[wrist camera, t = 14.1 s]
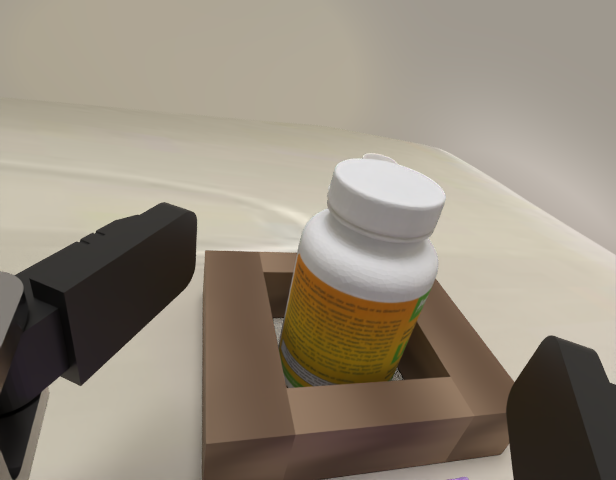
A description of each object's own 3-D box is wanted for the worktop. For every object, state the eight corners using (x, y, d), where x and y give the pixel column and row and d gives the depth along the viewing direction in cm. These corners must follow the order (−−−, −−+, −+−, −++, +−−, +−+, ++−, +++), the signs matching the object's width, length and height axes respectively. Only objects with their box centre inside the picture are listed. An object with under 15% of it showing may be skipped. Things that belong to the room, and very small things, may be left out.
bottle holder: (202, 495, 13) (206, 444, 12) (202, 296, 21) (205, 250, 20) (500, 454, 16) (535, 409, 15) (402, 295, 25) (418, 256, 23)
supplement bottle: (392, 430, 17) (489, 233, 11) (265, 405, 16) (307, 195, 11) (383, 337, 21) (449, 167, 16) (284, 317, 21) (320, 140, 16)
